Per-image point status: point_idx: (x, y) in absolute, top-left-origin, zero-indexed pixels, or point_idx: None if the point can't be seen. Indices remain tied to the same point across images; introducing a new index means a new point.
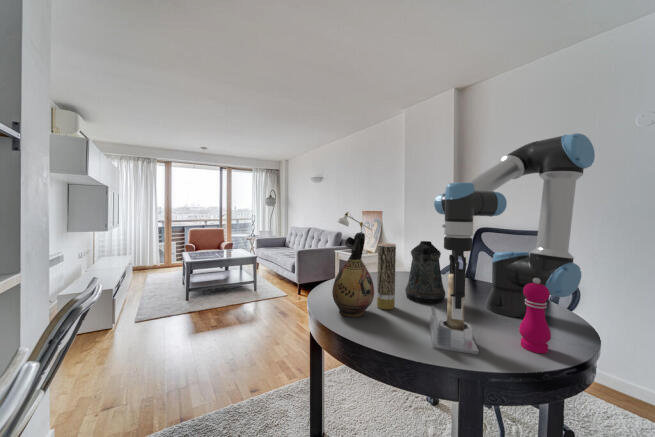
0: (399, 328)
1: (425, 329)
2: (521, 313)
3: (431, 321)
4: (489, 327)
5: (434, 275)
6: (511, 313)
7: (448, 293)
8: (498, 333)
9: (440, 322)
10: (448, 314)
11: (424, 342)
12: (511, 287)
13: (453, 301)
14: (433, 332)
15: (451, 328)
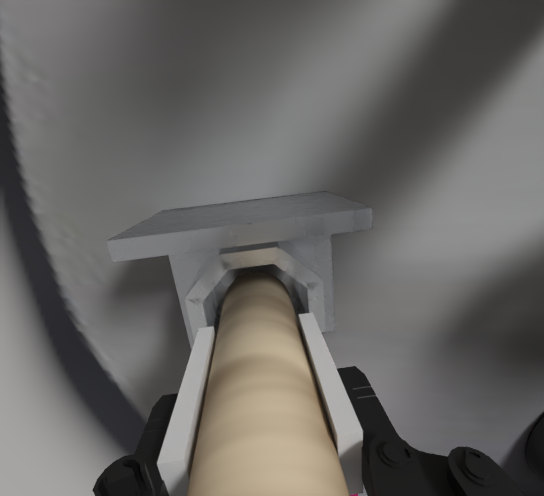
0: (294, 42)
1: (328, 171)
2: (539, 469)
3: (267, 208)
4: (422, 377)
5: None
6: (540, 445)
7: (233, 430)
8: (380, 396)
9: (258, 253)
10: (235, 315)
11: (195, 176)
12: None
13: (171, 422)
14: (137, 224)
15: (225, 296)
